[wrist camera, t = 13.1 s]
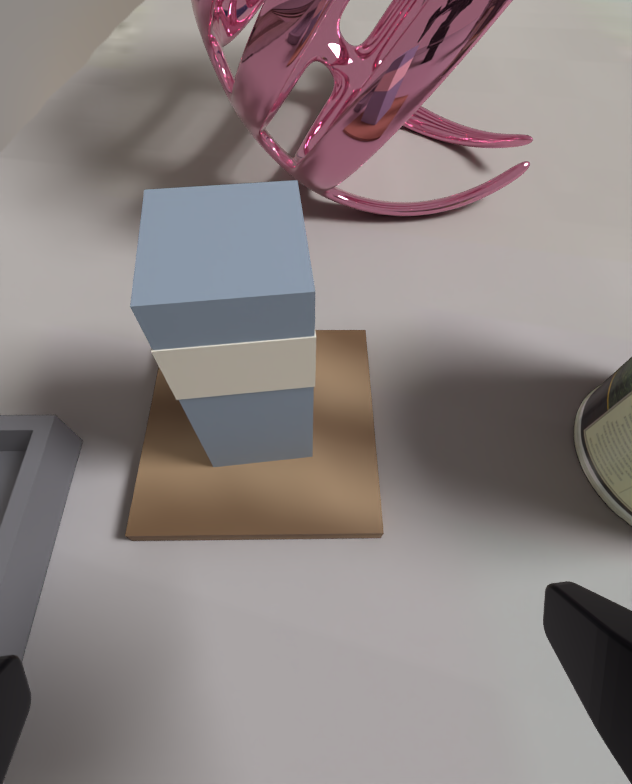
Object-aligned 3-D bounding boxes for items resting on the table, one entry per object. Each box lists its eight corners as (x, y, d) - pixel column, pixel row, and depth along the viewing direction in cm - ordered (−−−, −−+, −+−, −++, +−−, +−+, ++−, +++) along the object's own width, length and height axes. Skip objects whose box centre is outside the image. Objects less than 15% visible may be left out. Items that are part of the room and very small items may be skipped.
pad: (380, 537, 22) (383, 533, 21) (132, 540, 21) (124, 536, 20) (363, 340, 28) (365, 330, 27) (170, 340, 27) (165, 330, 27)
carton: (313, 457, 23) (317, 293, 12) (212, 468, 22) (128, 308, 12) (303, 373, 25) (298, 178, 15) (212, 382, 25) (143, 189, 14)
